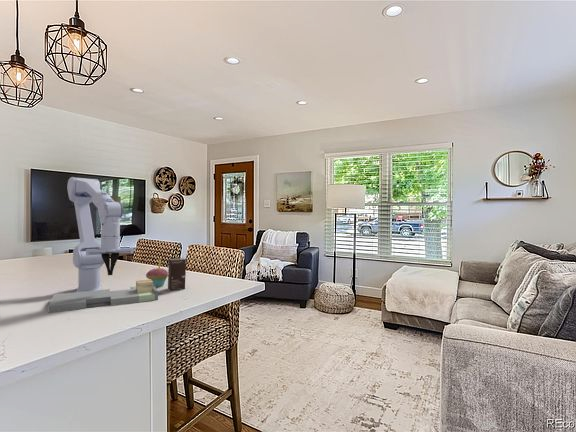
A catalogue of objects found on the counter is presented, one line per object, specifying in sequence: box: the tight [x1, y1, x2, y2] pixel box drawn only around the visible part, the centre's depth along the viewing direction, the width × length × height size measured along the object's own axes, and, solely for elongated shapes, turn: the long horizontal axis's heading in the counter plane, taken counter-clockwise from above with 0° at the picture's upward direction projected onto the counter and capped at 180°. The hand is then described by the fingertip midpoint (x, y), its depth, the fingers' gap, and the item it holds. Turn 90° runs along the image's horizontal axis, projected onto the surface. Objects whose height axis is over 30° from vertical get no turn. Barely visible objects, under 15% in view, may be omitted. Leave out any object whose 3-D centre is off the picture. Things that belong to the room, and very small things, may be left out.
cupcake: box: [145, 257, 168, 288], centre depth 133 cm, size 9×8×12 cm
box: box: [167, 257, 187, 291], centre depth 128 cm, size 6×4×12 cm
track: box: [47, 284, 159, 313], centre depth 111 cm, size 15×31×3 cm, turn 121°
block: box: [135, 278, 153, 293], centre depth 117 cm, size 5×5×4 cm
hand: (110, 274), depth 112 cm, fingers closed
